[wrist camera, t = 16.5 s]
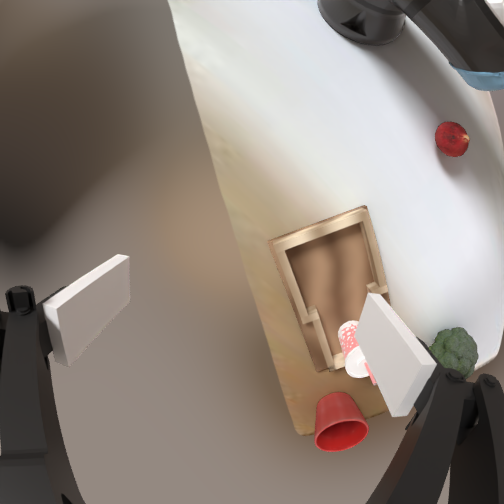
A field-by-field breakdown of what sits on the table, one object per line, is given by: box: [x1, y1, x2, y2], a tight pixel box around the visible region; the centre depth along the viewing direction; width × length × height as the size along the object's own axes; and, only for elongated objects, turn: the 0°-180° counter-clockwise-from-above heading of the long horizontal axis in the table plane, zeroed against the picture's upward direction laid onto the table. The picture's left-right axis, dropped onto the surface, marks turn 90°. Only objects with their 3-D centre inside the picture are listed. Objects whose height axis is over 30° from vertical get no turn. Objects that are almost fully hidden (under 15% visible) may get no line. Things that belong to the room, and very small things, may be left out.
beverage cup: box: [338, 320, 377, 385], centre depth 39 cm, size 6×6×14 cm
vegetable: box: [429, 327, 478, 379], centre depth 43 cm, size 12×13×15 cm
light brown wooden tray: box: [268, 205, 391, 372], centre depth 43 cm, size 16×26×4 cm, turn 22°
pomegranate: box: [435, 122, 470, 157], centre depth 33 cm, size 6×6×8 cm
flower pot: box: [314, 392, 369, 452], centre depth 47 cm, size 11×11×10 cm
